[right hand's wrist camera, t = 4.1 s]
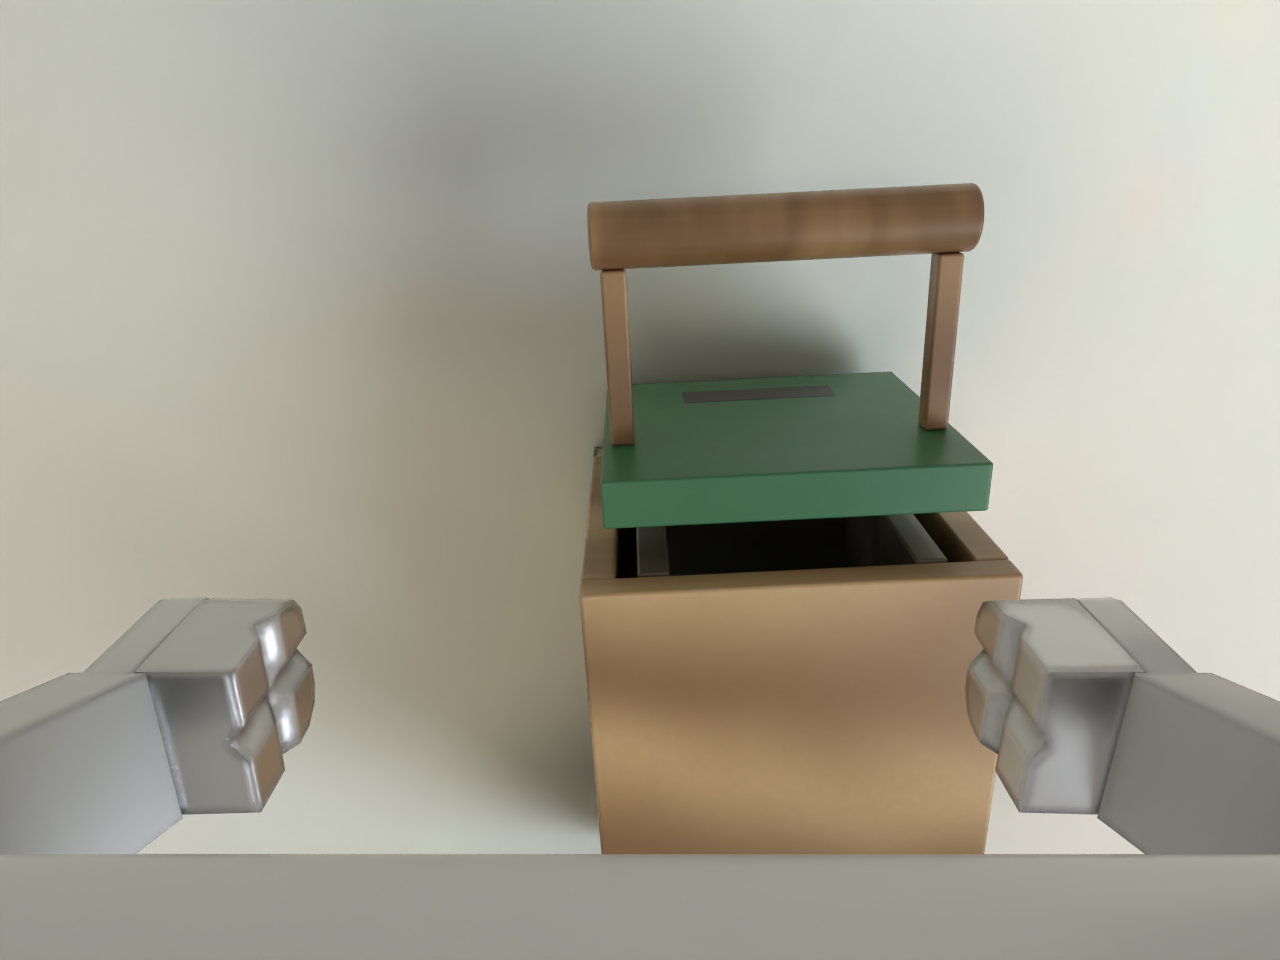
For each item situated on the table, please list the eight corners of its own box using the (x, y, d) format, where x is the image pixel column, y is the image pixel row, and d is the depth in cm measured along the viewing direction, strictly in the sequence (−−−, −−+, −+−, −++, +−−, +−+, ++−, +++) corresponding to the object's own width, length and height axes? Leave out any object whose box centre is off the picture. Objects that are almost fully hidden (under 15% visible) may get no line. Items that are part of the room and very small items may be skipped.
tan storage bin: (594, 447, 28) (578, 596, 19) (897, 432, 28) (1025, 573, 19) (622, 839, 35) (620, 1088, 26) (869, 827, 35) (954, 1073, 26)
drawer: (594, 188, 24) (580, 212, 17) (905, 173, 24) (1026, 190, 17) (633, 786, 33) (634, 978, 25) (864, 775, 33) (934, 964, 25)
